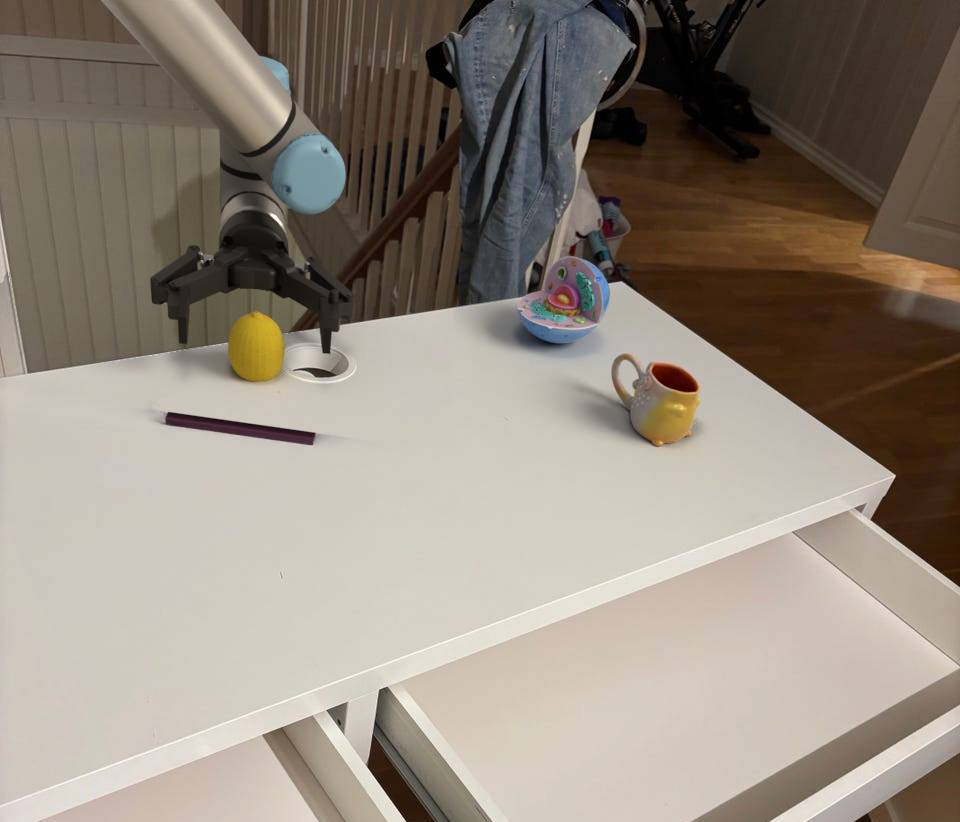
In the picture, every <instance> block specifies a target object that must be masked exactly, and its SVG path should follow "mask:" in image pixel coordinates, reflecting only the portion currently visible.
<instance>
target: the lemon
mask: <svg viewBox="0 0 960 822" xmlns="http://www.w3.org/2000/svg"><path fill="white" fill-rule="evenodd" d="M227 345H228V346H227V350H228V351H227V352H228V359H229V362H230V365H231V367H232V369H233V371H234V372H235V373H236V375H237V376H238V377H239V378H241V379H243V380H246V381H250V382H254V383H256V382H257V383H264V382H269V381H271V380H273V379H275V378H276V377H277V375H278V374H279V373H280V371H281V370H282V368H283V365H284V360H285V353H286V352H285V350H286V349H285V342H284V337H283V333H282V330H281V328H280V327H279V325H278V323H276V322H275V320H274V319H272V318H271V317H269V316H268V315H265V314H264V313H262V312H260V311H258V310H257V311H253V312H250V313H247V314H245V315H242V316H240V317H239V318H238V319H237V320H236V321H235V322H234V324H233V326H232V327H231V329H230V333H229V337H228V344H227Z"/></svg>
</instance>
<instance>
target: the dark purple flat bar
mask: <svg viewBox="0 0 960 822" xmlns="http://www.w3.org/2000/svg"><path fill="white" fill-rule="evenodd" d="M164 419H165V425H167V426H174V427H181V428H189V429H195V430H202V431H211V432H217V433H223V434H231V435H239V436H244V437H245V436H246V437H252V438H260V439H267V440H275V441H281V442H288V443H296V444H303V445H308V446H309V445H311V446H313V445H314V442H315V438H316V432H314V431H307V430H302V429H301V430H300V429H292V428H286V427H279V426H273V425H266V424H259V423H258V424H257V423H250V422H244V421H236V420H231V419H230V420H229V419H224V418H223V419H222V418H217V417H216V418H215V417H207V416H202V415H195V414H187V413H181V412H173V411H168V412H167V413H166V414H165V418H164Z"/></svg>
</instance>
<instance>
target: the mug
mask: <svg viewBox="0 0 960 822" xmlns="http://www.w3.org/2000/svg"><path fill="white" fill-rule="evenodd" d="M623 361H627V362H629V363H630V364H632V366H633V367H634V369H635V371H636V372H637V375H638V378H636V379H634V380H633V381H632V383H631V386H632V389H633V390H634V392H633V395H631V394H630V393H629V391H627V389H626V388H625V387H624V385H623V383H622V380H621V376H620V367H621V364H622V363H623ZM610 368H611V370H610V375H611V376H610V378H611V382H612V385H613V387H614V390H615V393H616V394H617V396H618V397H619V399H620V400H621V402H622V403H623V404H624V406H625V407H626V408H627V409H628V410H629V411H630V421H631V425H632V427H633V429H634V430H635V432H637V433H638V434H639V435H641V436H642V437H644V438H646V439H647V440H648V441H650V442H651V443H652V444H653V445H654V446H657V447H662V446H663V445H664V444H672V443H676V442H678V441H680V440H682V439H683V438H684V437H690V436H691V435H692V431H691V430H692V428H693V425H694V422H695V418H696V415H697V410H698V407H699V405H700V403H701V399H700V397H699V394H700V391H701V386H700V384H699V382H698V381H697V379H696V378H695V377H694V375H692V374H691V373H690V372H688V371H687V370H686V369H684V368H683V367H681V366H679V365H676V364H672V363H668V362H655V361H650V362H649V363H648V365H647V367H646V368H645V370H644V367H643V365H642V363H641V361H640V360H639V359H638V358H637V357H636V356H635V355H633V354H631V353H628V352H627V353H621V354H619V355H618V356H617V357H616V358H614V360H613V362H612V364H611V367H610Z"/></svg>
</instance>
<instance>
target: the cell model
mask: <svg viewBox="0 0 960 822" xmlns="http://www.w3.org/2000/svg"><path fill="white" fill-rule="evenodd" d="M543 288H544V289H543V290H538V291H534V292H530V293H528V294H525V295H524V296H523V297H521V298H520V299H519V300H518V302H517V304H516V305H517V306H516V308H517V312H518V316H519V320H520V321H521V323H522V324H523V326H524V327H525V329H526V330H527V331H528V332H529V333H530V334H532V335H533V336H535V337H536V338H537V339H539V340H541V341H544V342H547V343H552V344H570V343H574V342H577V341H580V340H582V339H584V338H586V337H587V336H589V335H590V334H591V333H593V331H595V330H596V328H597V327H598V326H599V325H600V324H601V322H602V321H603V319H604V318H605V316H606V314H607V311H608V308H609V305H610V302H611V301H610V300H611V289H610V285H609V283H608V280H607V278H606V277H605V275H604V273H603V272H602V270H601V269H600V268H599V267H597V266H596V264H594V263H592V262H591V261H589V260H587V259H585V258H581V257H577V256H572V255H567V256H564V257H559V258H558V259H557V260H556V261H554V263H553V264H551V266H550V268H549V270H548V271H547V273H546V276H545V282H544V287H543Z"/></svg>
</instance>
